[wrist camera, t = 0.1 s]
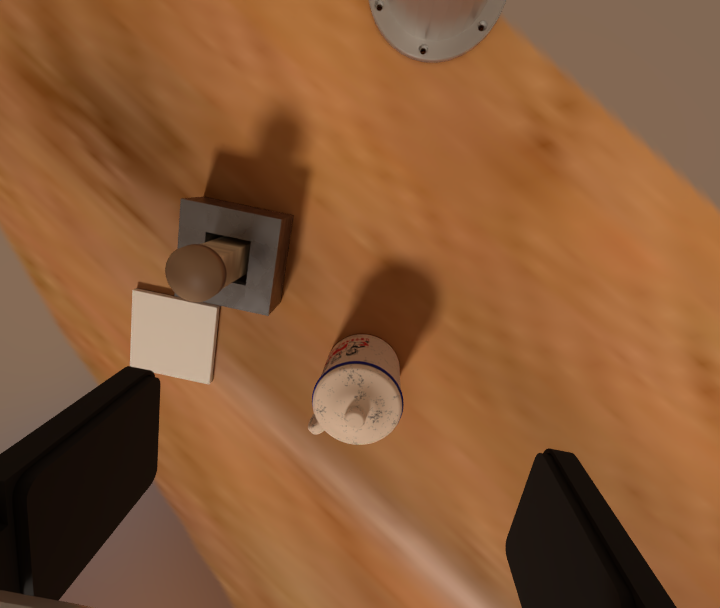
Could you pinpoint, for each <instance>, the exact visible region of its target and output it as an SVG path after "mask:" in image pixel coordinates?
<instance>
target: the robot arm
mask: <svg viewBox="0 0 720 608" xmlns="http://www.w3.org/2000/svg"><path fill="white" fill-rule="evenodd" d="M505 2H506V0H369V4H370V9H371V12H372V15H373V18H374V21H375V24H376V25H377V27H378V29H379V31H380V33H381V34H382V36H383V37H384V38H385V39H386V41H387V42H388V43H389V44H390V45H391V46H392V47H393V48H394V49H396V50H397V51H398V52H399V53H401V54H403V55H405V56H407V57H409V58H411V59H414V60H418V61H421V62H433V63H437V62H443V61H449V60H452V59H454V58H457V57H459V56H462V55H463V54H465V53H467V52H468V51H470V50H471V49H473V48H474V47H475V46H476V45H478V44H479V43H480V42H481V41H482V40H483V39H484V38H485V37H486V35H487V34H488V33H489V31H490V30H491V29H492V28H493V26H494V24H495V23H496V21H497V19H498V18H499V16H500V14H501V12H502V9H503V7H504V5H505ZM379 6H381V7H382V10H381V11H378V10H377V7H379ZM479 26H481V27H483V31H479V30H478V27H479ZM422 49H424V50H425V51H426V53H425V54H421V53H420V51H421V50H422ZM159 406H160V380H159V379H158V378H156V377H155V375H154V372H153V371H151V370H146V369H141V368H136V367H131V366H127V367H125V368H124V369H122V370H121V371H119V372H118V373H116V374H115V375H113V376H112V377H111V378H109V379H108V380H106V381H105V382H103V383H102V384H101V385H99V386H98V387H96V388H95V389H93V390H92V391H91V392H89V393H88V394H86V395H85V396H83V397H82V398H80V399H79V400H78V401H76V402H75V403H73V404H72V405H70V406H69V407H67V408H66V409H65V410H63V411H62V412H60V413H59V414H58V415H56V416H55V417H53V418H52V419H50V420H49V421H47V422H46V423H44V424H43V425H42V426H40V427H39V428H37V429H36V430H34V431H33V432H32V433H30V434H29V435H27V436H26V437H24V438H23V439H22V440H20V441H19V442H17V443H16V444H14V445H13V446H11V447H10V448H9V449H7V450H6V451H4V452H3V453H1V454H0V608H94V607H88V606H84V605H79V604H74V603H68V602H62V601H58V600H59V599H60V598H61V597H62V595H63V594H64V593H65V592H66V590H67V589H68V588H69V587H70V585H71V584H72V583H73V582H74V580H75V579H76V578H77V577H78V575H79V574H80V573H81V572H82V570H83V569H84V568H85V567H86V565H87V564H88V563H89V562H90V560H91V559H92V558H93V556H94V555H95V554H96V553H97V552H98V550H99V549H100V548H101V547H102V545H103V544H104V543H105V541H106V540H107V539H108V538H109V536H110V535H111V534H112V533H113V531H114V530H115V529H116V528H117V526H118V525H119V524H120V523H121V521H122V520H123V519H124V518H125V516H126V515H127V514H128V513H129V511H130V510H131V509H132V508H133V506H134V505H135V504H136V503H137V501H138V500H139V499H140V498H141V496H142V495H143V494H144V493H145V491H146V490H147V489H148V488H149V486H150V485H151V484H152V482H153V480H154V478H155V475H156V472H157V460H158V433H159ZM506 556H507V560H508V563H509V566H510V570H511V573H512V576H513V580H514V583H515V586H516V590H517V593H518V596H519V599H520V603H521V606H522V608H676V606H675V605H674V603H673V601H672V600H671V598H670V597H669V595H668V594H667V592H666V591H665V589H664V588H663V586H662V585H661V583H660V582H659V580H658V579H657V577H656V576H655V574H654V573H653V571H652V570H651V568H650V567H649V565H648V564H647V562H646V561H645V559H644V558H643V556H642V555H641V553H640V552H639V550H638V549H637V547H636V546H635V544H634V543H633V541H632V540H631V538H630V537H629V535H628V534H627V532H626V531H625V529H624V528H623V526H622V525H621V523H620V522H619V520H618V519H617V517H616V516H615V514H614V513H613V511H612V510H611V508H610V507H609V505H608V504H607V502H606V501H605V499H604V498H603V496H602V495H601V493H600V492H599V490H598V489H597V487H596V486H595V484H594V483H593V481H592V480H591V478H590V477H589V475H588V474H587V472H586V471H585V469H584V468H583V466H582V465H581V463H580V462H579V460H578V459H577V457H576V456H575V455H574V454H573V453H570V452H564V451H559V450H554V449H546V450H545V451H544V453H538V454H537V455H536V457H535V460H534V463H533V465H532V468H531V471H530V474H529V477H528V480H527V482H526V485H525V488H524V491H523V494H522V497H521V499H520V502H519V505H518V508H517V511H516V514H515V516H514V519H513V522H512V525H511V528H510V531H509V534H508V536H507V540H506Z"/></svg>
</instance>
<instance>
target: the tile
mask: <svg viewBox="0 0 720 608" xmlns="http://www.w3.org/2000/svg"><path fill="white" fill-rule="evenodd" d="M219 309H220V306H218V305H213V304H208V303H204V302H191V301H187V300H185V299H183V298H180V297H175V296H171V295H166V294H161V293H157V292H152V291H147V290H142V289H138V288H136V289H134V290H133V294H132V322H131V351H130V366H131V367H136V368H141V369H146V370H151V371H153V372H154V373H158V374H163V375H167V376H172V377H177V378H181V379H186V380H191V381H195V382H200V383H204V384H209V385H210V383H211V382H212V379H213V369H214V359H215V349H216V339H217V329H218V319H219Z"/></svg>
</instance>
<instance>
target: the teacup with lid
mask: <svg viewBox="0 0 720 608" xmlns="http://www.w3.org/2000/svg"><path fill="white" fill-rule="evenodd" d="M312 406H313V411H314V414H313V416H312V417H311V419H310V421H309V424H308V429H309V431H310V432H311V433H313V434H320V433H322V432H323V431H326V432H327V433H328V434H329V435H331V436H332V437H334V438H335V439H337V440H339V441H342V442H345V443H349V444H355V445H363V444H370V443H373V442H376V441H379V440H381V439H382V438H384V437H386V436H387V435H388V434H389V433H391V432H392V431H393V429H394V428H395V427H396V425H397V424H398V422H399V420H400V418H401V415H402V412H403V396H402V392H401V389H400V366H399V361H398V358H397V355H396V353H395V352H394V350H393V349H392V348H391V346H390V345H389V344H387V343H386V342H385V341H383V340H382V339H380V338H378V337H375V336H372V335H366V334H358V335H352V336H349V337H346V338H344V339H343V340H341V341H340V342H338V343H337V344H336V345H335V346H334V348H333V349H332V350H331V352H330V354H329V356H328V359H327V362H326V364H325V367H324V370H323V373H322V375H321V377H320V378H319V380H318V381H317V383H316V385H315V387H314V391H313V395H312Z"/></svg>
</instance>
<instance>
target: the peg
mask: <svg viewBox="0 0 720 608" xmlns="http://www.w3.org/2000/svg"><path fill="white" fill-rule="evenodd" d="M250 246H251V241H247V240H242V239H238V238H233V237H228V236H223V237H220V238H217V239H214V240H211V241H208V242H205V243H202V244H191V245H187V246H184V247H181V248H179V249H177V250H175V251H174V252H173V253H172V254H171V255H170V256H169V258H168V260H167V263H166V268H165V273H166V278H167V281H168V284H169V285H170V287H171V289H172V290H173V291H174V292H175V293H176V294H177V295H178V296H180V297H181V298H183V299H185V300H187V301H191V302H203V301H206V300H208V299H210V298H212V297H213V296H215V295H216V294H218V293H219V292H220V291H221V290H222V289H223V288H224V287H226V286H228V285H229V284H231V283H232V282H234V281H235V280H237V279H239V278H240V277H242V276H243V275H245V274H246V273H247V271H248V263H249V254H250Z"/></svg>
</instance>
